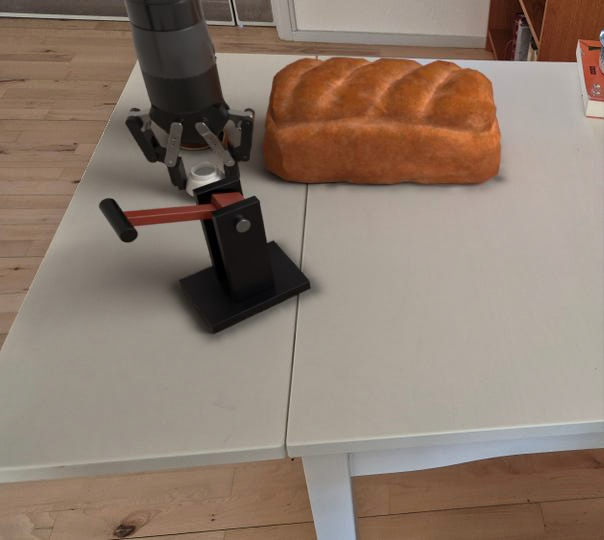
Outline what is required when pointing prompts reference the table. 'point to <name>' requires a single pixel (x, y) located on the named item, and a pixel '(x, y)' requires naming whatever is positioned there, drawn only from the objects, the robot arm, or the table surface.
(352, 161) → the bread
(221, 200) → the lever
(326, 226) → the table surface
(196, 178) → the white jar
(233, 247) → the bracket
